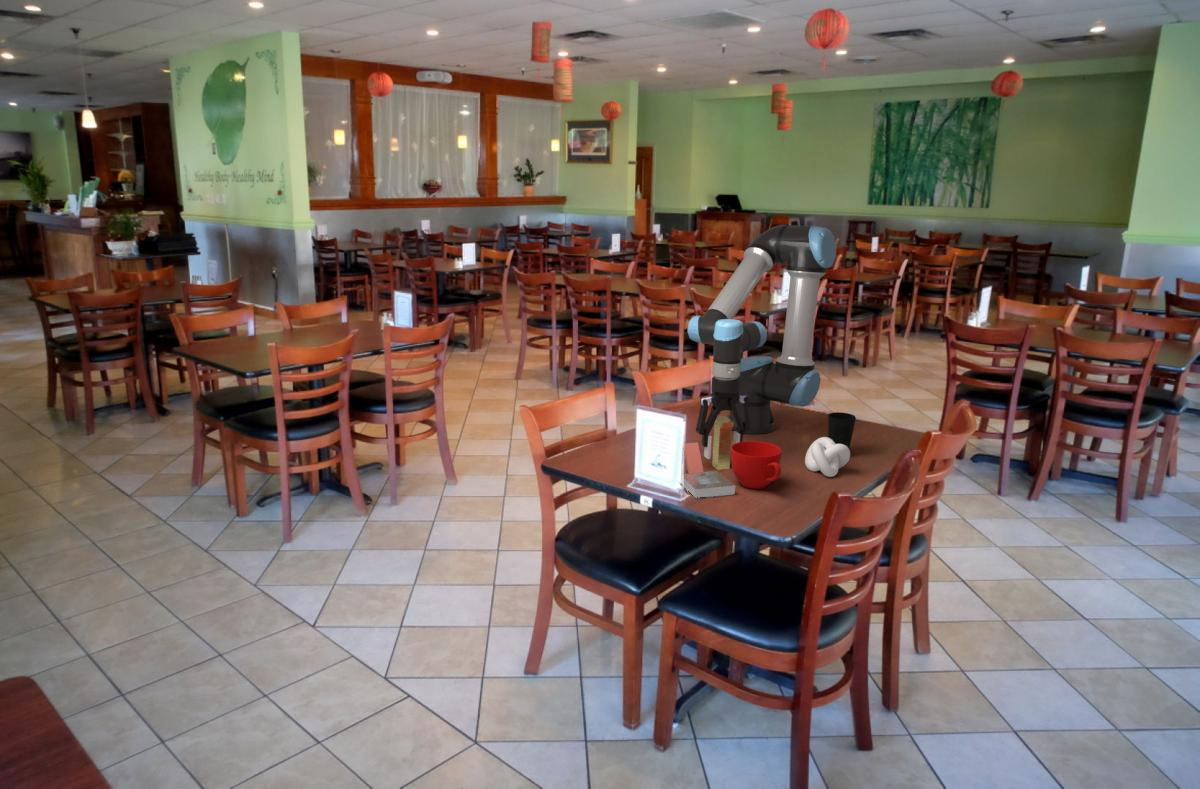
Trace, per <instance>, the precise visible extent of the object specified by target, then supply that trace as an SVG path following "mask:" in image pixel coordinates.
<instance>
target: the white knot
mask: <svg viewBox="0 0 1200 789" xmlns="http://www.w3.org/2000/svg"><path fill="white" fill-rule="evenodd" d="M838 455H839V456H838ZM850 457H851V450H850V449H849V448H848V447H847V446H846V445H843V444H835V443H834V441H833V440H832V439H830V438H828V437H827V436H822V437H819V438H817V439H815V440H814V441H813V442H812V443H811V445H809V448H807V451H806V453H805V457H804V463H805V466H806V468H807V469H808V470H809V471H811V472H818V471H820V472H821V473H822V474H823V475H824V476H825V477H827V478H832V477H835V476H836V475H837V474H838V473H839V469H841V468H843V467H844V466H845V465H846V464H847V463H848V462H849V460H850V459H851V458H850Z"/></svg>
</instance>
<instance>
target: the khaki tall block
mask: <svg viewBox="0 0 1200 789" xmlns="http://www.w3.org/2000/svg"><path fill="white" fill-rule="evenodd" d="M713 427H714V428H713V443H712V444H713V445H712V446H713V447H712V462H711V463H712V464H711V465H712V467H714V468H715V469H716V471H719V470H730V465H731V447H732V435H733V434H732V433H733V432H732V431H733V430H732V427H734V422H733V421H732V420H730V419H729V418H728V416H725V415H718V416H717V418H716V421H715V423H714V425H713Z"/></svg>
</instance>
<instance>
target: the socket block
mask: <svg viewBox="0 0 1200 789" xmlns="http://www.w3.org/2000/svg"><path fill="white" fill-rule="evenodd" d="M683 474H684V485H685V488H686V490H687V492H688V491H689V492H690V493H691V494H692V495H693V496H694V497H695V498H696V499H701V498H700V497H706V498H713V497H714V496H715V497H723V496H734V495H735V494H736V484H734V483H733V482H732V481H731V480H730V479H728V478H727V477H726V476H725V475H724V474H722V473H721V472H720V471H719V470H709V471H704V472H697V473H683ZM689 492H688V493H689ZM690 493H689V494H690ZM691 494H690V495H691ZM692 495H691V496H692ZM693 496H692V497H693ZM694 497H693V498H694ZM697 497H698V498H697ZM695 498H694V499H695Z"/></svg>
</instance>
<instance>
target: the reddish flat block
mask: <svg viewBox="0 0 1200 789" xmlns="http://www.w3.org/2000/svg"><path fill="white" fill-rule="evenodd" d="M699 447H700V446H699V442H688V443H687V442H686V443H685V451H684V450H683V452H684V457H685V465H686V468H687V472H688V473H697V472H705V471H704V466H703V462H702V456H701V452H700V448H699Z"/></svg>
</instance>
